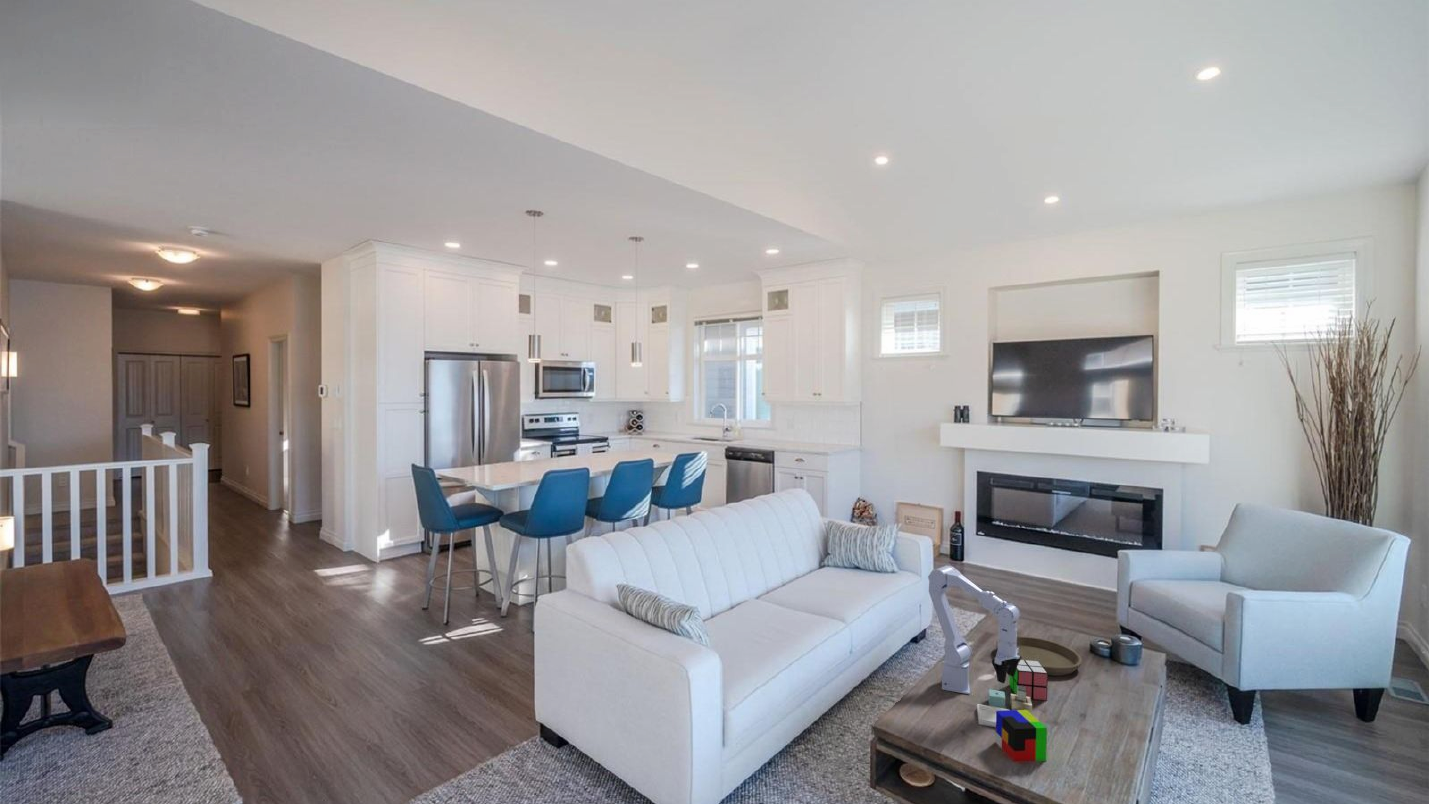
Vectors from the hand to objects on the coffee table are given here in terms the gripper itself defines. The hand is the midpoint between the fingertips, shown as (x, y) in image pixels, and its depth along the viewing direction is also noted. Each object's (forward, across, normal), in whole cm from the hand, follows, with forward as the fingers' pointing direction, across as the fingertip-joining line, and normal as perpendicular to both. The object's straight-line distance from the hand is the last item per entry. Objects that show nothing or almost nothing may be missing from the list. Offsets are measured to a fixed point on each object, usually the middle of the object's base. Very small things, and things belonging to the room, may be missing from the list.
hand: (1006, 678), depth 210 cm
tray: (+10, -11, -1) cm, 15 cm away
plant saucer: (+10, +47, +7) cm, 49 cm away
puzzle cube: (+10, +16, -1) cm, 19 cm away
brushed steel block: (+10, +1, -5) cm, 11 cm away
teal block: (+10, -1, +2) cm, 10 cm away
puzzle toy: (+10, -23, -14) cm, 29 cm away
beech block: (+10, +1, -5) cm, 11 cm away
